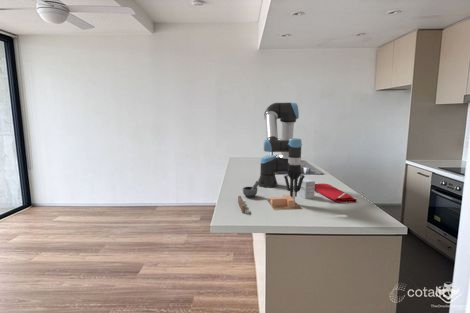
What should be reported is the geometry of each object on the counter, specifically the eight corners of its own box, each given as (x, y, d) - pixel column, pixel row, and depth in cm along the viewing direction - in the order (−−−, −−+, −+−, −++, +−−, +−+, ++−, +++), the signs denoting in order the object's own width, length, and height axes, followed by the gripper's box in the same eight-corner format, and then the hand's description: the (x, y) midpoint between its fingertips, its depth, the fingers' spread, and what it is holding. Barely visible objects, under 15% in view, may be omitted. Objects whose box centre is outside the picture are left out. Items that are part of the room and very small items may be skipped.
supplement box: (298, 197, 197) (299, 179, 195) (307, 196, 200) (308, 178, 198) (304, 200, 190) (305, 181, 188) (314, 199, 193) (315, 180, 191)
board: (238, 202, 186) (238, 195, 185) (292, 200, 190) (292, 194, 189) (242, 213, 166) (242, 205, 166) (302, 211, 170) (303, 203, 170)
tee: (269, 201, 183) (269, 195, 183) (289, 201, 185) (289, 195, 184) (273, 207, 173) (273, 201, 172) (294, 206, 174) (295, 200, 174)
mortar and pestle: (242, 200, 191) (242, 182, 189) (242, 196, 200) (242, 179, 198) (259, 200, 190) (259, 182, 188) (259, 196, 199) (259, 179, 197)
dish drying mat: (327, 186, 228) (328, 182, 228) (357, 202, 188) (357, 197, 188) (308, 187, 226) (309, 182, 225) (334, 203, 186) (334, 198, 185)
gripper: (285, 165, 171) (284, 204, 175) (307, 165, 173) (305, 203, 177) (282, 163, 179) (281, 200, 182) (302, 162, 180) (301, 199, 184)
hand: (293, 201), depth 179 cm, fingers closed
